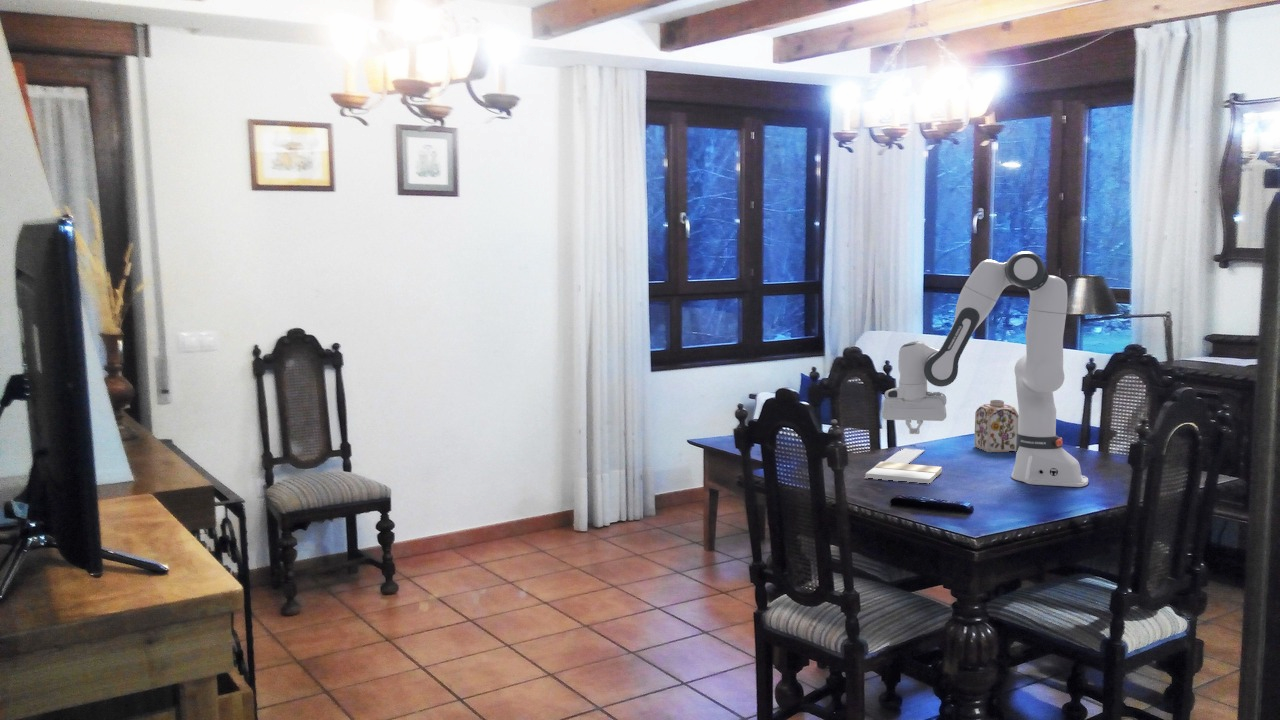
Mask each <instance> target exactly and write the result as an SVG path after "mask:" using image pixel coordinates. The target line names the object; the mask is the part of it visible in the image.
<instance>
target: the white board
mask: <svg viewBox="0 0 1280 720" xmlns="http://www.w3.org/2000/svg"><path fill="white" fill-rule="evenodd" d="M864 474H865V479H868V478H873V479H872V480H878V479H882V480H881V481H888V480H893V481H892V482H898V481H907V482H906V483H909V482H918V483H917V484H919V483H928V484H927V485H930V484H931V483H933V482H934V481H935V480H936V479H937V478H936V473H929V472H918V471H907V470H896V469H885V468H874V467H872V468H871V469H870V470H868V471H867V472H865V473H864ZM935 478H936V479H935ZM934 479H935V480H934ZM933 480H934V481H933ZM929 483H930V484H929Z"/></svg>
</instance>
